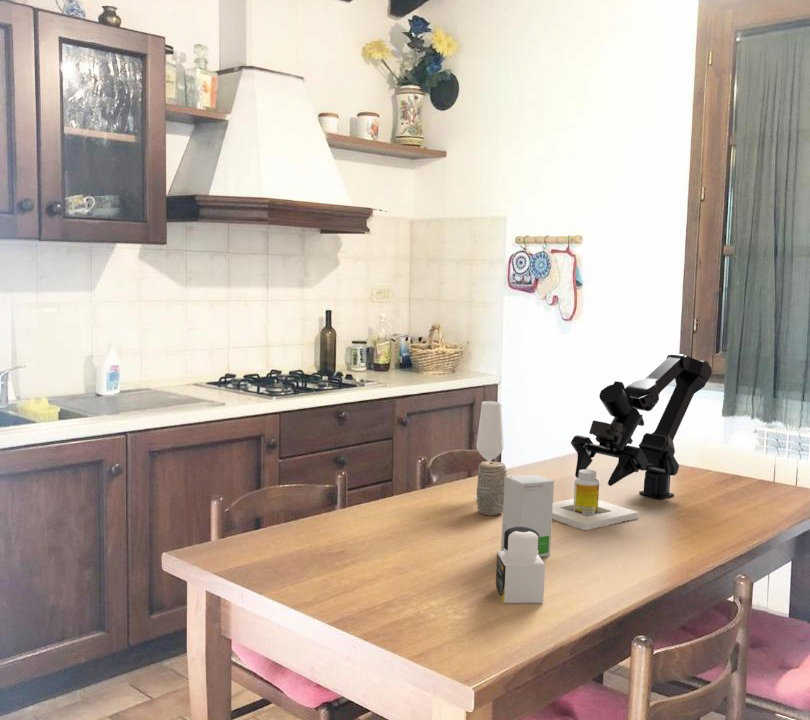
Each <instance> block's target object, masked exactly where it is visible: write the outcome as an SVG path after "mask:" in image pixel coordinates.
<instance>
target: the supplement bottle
mask: <svg viewBox="0 0 810 720" xmlns="http://www.w3.org/2000/svg"><path fill="white" fill-rule="evenodd" d="M599 490H600V482H599V480H598V479H597V471H595V470H592V469H588V468H587V469H583V470H579V478H575V480H574V491H573V499H574V508H573V511H574V512H575V513H578V514H581V515H584V516H587V517H588V516H592V515H597V512H598V500H599V492H600V491H599Z"/></svg>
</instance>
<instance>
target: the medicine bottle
mask: <svg viewBox="0 0 810 720" xmlns="http://www.w3.org/2000/svg"><path fill="white" fill-rule="evenodd" d="M538 551H539V534H538V532H536V531H535V530H533V529H530V528H527V527H513V528H510V529H507V530H506V531H505V533H504V551H501V550H497V552H496V573H495V574H496V575H495V576H496V577H495V589H496V591H497V594H498V596H499V597H500V599H501V601H502V603H503V604H543V603H544V594H545V578H546V576H545V574H546V573H545V571H546V563H544V560H542V557H539V555H538Z"/></svg>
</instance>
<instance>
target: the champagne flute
mask: <svg viewBox="0 0 810 720" xmlns="http://www.w3.org/2000/svg"><path fill="white" fill-rule="evenodd" d="M503 430H504V428H503V412H502V402H501V401H493V400H487V401H485V400H484V401H482V402H481V406H480V416H479V423H478V430H477V435H476V436H477V438H476V444H475V446H476V447H475V448H476V450H477V451H478V453H479V454H480V455H481V457H482V458H483V459H484V460H485V461H492V460H495V459H496V458H497V457H499V455H501V453H502V452H503V450H504V431H503ZM492 462H493V461H492ZM474 497H475V498H474V500H476V499H477V495H475V496H474Z"/></svg>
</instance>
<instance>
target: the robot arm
mask: <svg viewBox="0 0 810 720" xmlns="http://www.w3.org/2000/svg"><path fill="white" fill-rule="evenodd" d="M712 372H713V371H712V366H711V365H710V364H709V362H708V361H707V360H699V359H696V358H692V357H691V356H689V355H687V354H681V353H676V352H675V353H673V352H672V353H669V354H668V355H667V356H666V359H664V360H663V362H662V363H660V364H659V365H658V367H656V368H655V369H654V370H653V371H652V372H650V373H649V375H648V376H647V377H645V378H644V379H641V380H637V381H633V382H632V383H630V384H628V385H627V386H626V387H625V384H624V383H623V382H622V381H618V380H617V381H616V380H615V381H614V383H612V384H609V385H607V386H606V387H604V388H603V389H601V391H600V393H599V399H600V401H601V403H602V404H603V406H604V407H605V409H606V411H607V413H608V414H609V415H610V416H611V417H612V418H613V419H612V421H611V423H608V422H605V421H599V420H592V422H591V427H590V429H589V432H588V433H589V435H592V436H595V441H596V442H597V443H599V444H595V443H594V442H593V441H592V439H591V438H590V437H587V436H583V435H574V436H573V438H572V439H571V441H570V445H571V446H572V447H573V449H574V450H575V452H576V454H577V460H576V462H577V463H576V468H575V473H574V475H575V479H577V478H579V470H583V469H588V467H589V466H591V464H592V462H593V459H592V458H594V457H595V455H596V454H600V455H604V456H608V457H613V458H617V459H618V460H617V464H616V466H615V468H614V469H613V471H612V474H610V477H609V479H608V482H607V485H608V486H609V487H611V486H613V485H615V484H617V483H618V482H620V481H621V480H623V479H624V478H626V477H628V476H630V475H632V474H633V473H639V471H645V474H644V478H643V479H644V480H643V481H644V482H643V490H642V491H638V494H640V495H643V496H647V497H650V498H653V499H658V500H661V499H665V498H666V499H667V498H670V497H671V498H672V497H675V493H672V492H670V488H671V476H676V475H677V474H678V472H679V467H680V465H679V463H678V461H677V459H676V457H675V456H674V455H675V453H676V450H675V445H674V439H675V437H676V434H677V432H678V430H679V428H680V426H681V423H682V421H683V419H684V417H685V415H686V413H687V411H688V408H689V406H690V403H691V402H692V399H693V397H694V395H695V394H696V393H697V392H699V391H701V390H702V389H704V387H705V386H706V384H707V382H708V381H709V379H710V378H711V376H712ZM674 379H675V387H674V389H673V391H672V394H671V396H670V397H669V399H668V402H667V403H666V404H667V405H666V407H665V409H664V411H663V413H662V416H661V417H660V420H659V422H658V424H657V425H656V428H655V430H654V431H653V432H652V433H648V432H645V434H643V437H642V439H641V441H640V443H639V444H638V447H637V446H632V445H631V444H632V443H633V441H634V440H633V439H632V436H633V435H634V433H635V431H636V429H637V427H638V426H640V427H643V426H645V420H644V418H643V414H642V413H640V412H639V411H644V412H650V411H652V410H653V409H654V408H655V406H656V405H657V404H658V402H659V401H660V394H661V393H662V391H664V389H665V388H666V387H668V385H669V384H670V383H672V382H673V381H674Z"/></svg>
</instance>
